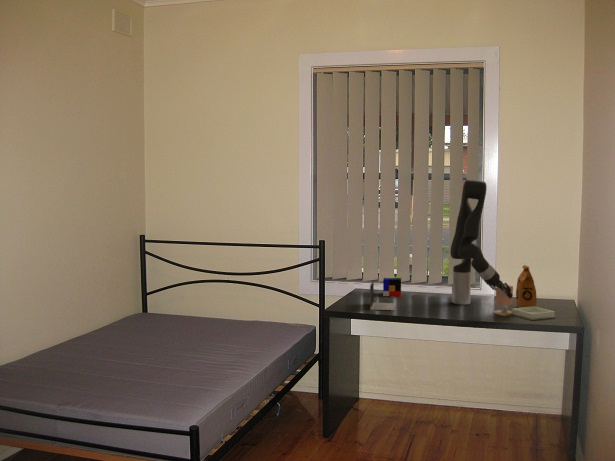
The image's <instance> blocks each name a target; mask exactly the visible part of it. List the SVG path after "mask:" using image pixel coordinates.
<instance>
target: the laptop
mask: <svg viewBox="0 0 615 461" xmlns="http://www.w3.org/2000/svg"><path fill="white" fill-rule="evenodd" d="M374 290H375V289H374V280H372V282H371V283H370V286H369V292H370V293H369V309H370V311H376V310H391V311H392V312H393V311H395V309H396V305H397V303H395V302H393V303H391V302H374V293H375V292H374ZM391 311H390V312H391Z"/></svg>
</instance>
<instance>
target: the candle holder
mask: <svg viewBox="0 0 615 461" xmlns="http://www.w3.org/2000/svg"><path fill="white" fill-rule="evenodd" d="M500 306H501V307H500V309H498V310H492V314H495V315H498V316H502V317H507V316H514V315H513V313H512V310H508V309H509V305H501V304H500Z"/></svg>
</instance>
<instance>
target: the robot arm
mask: <svg viewBox="0 0 615 461" xmlns="http://www.w3.org/2000/svg"><path fill="white" fill-rule="evenodd" d="M487 188H488V187H487V183H486V181H482V180H478V179H477V180H475V179H474V180H473V179H466V180H465V181H464V183H463V188H462V194H461V200H460V207H459V211H458V216H457V219H456V226H455V231H454V235H453V237H452V241H451V245H450V249H449V250H450V254H449V255H450V257H451V259H454V260H463V261H462V262H461V263H459V264H455V265H454V266H453V267H452V268H453V269H452V272H453V273H452V285H451V302H452V303H453V304H455V305H470V304H471V289H472V288H471V281H472V280H471V279H472V277H471V273H472V270H471V269H472V268H473V269H474V270H475V271H476V274H477V273H478V275H479V277H480V278H481V279H482V280H483V281H484V283H485V284H486V285H488V286H489V287H490V289H492V290H493V291H495V292H496V290H497V288H498V289H499V290H500V291H503V292H504V293H505V294H506V295H507V296H508V297H509V298H512V296H514V294H513V295H512V294H511V292H510V291H511V289H510V287H509V286H508V285H509V284H508V283H507V282H504V283H503V281H502V280H501V279H500V278H501V277H500V274H499V273H498V272H497V270H496V269H495V268H494V267H493V266H492V265H491V264H490V263H489V262H488V261H487V259H486V257H485V256H484V254H483V252H482V249H481V247H480V246H479V245H477V244H475V243H473V242H474V241H477V240H478V238H479V232H480V224H481V218H482V215H483V214H482V213H483V210H484V205H485V200H486V195H487ZM469 199H471V200H477V204H476V206H475V207H474V209H473V207H472V205H471V203H470V201H469ZM502 287H503V288H502ZM501 288H502V289H501ZM504 290H505V291H504Z"/></svg>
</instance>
